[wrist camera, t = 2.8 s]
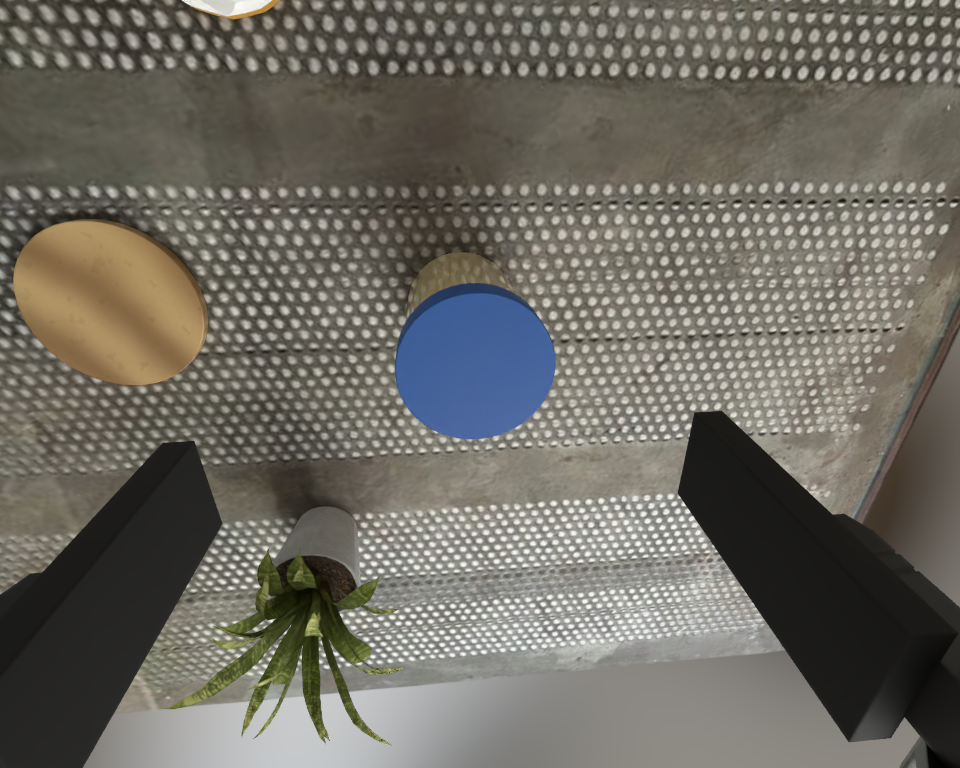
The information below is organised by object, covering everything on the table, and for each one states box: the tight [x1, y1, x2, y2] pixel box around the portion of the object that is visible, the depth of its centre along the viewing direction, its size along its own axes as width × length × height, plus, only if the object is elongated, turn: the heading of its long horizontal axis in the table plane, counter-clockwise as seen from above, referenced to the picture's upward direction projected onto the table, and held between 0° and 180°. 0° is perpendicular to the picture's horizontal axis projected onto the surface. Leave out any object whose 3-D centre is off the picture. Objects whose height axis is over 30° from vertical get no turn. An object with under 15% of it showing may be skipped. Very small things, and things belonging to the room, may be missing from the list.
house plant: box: [165, 506, 406, 744], centre depth 35 cm, size 14×14×16 cm
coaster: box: [13, 219, 208, 385], centre depth 31 cm, size 11×11×1 cm
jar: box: [405, 252, 518, 323], centre depth 29 cm, size 8×8×11 cm
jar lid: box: [395, 283, 555, 439], centre depth 25 cm, size 8×8×2 cm
